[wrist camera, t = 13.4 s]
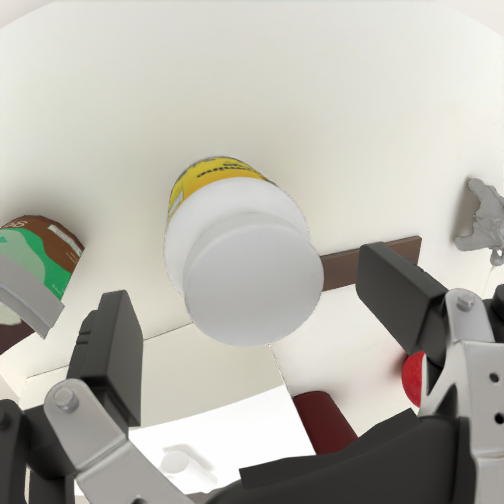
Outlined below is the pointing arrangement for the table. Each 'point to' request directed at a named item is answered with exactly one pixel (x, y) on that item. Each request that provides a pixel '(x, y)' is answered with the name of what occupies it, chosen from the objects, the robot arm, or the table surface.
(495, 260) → the elephant statuette
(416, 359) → the apple
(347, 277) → the plank
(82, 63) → the table surface
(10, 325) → the food container
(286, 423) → the tissue box
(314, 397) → the mug
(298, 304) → the pill bottle
